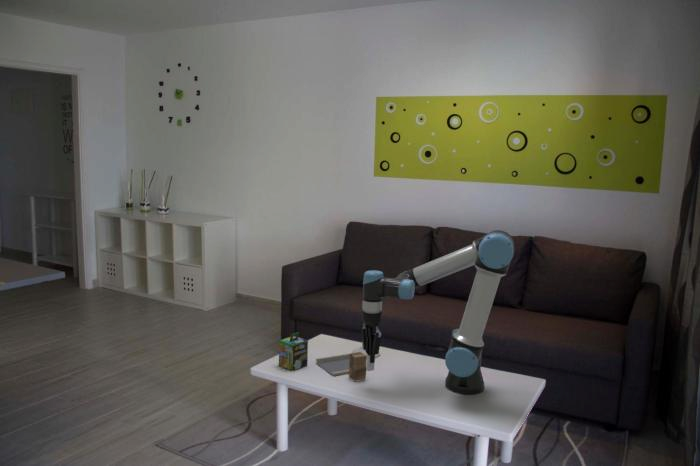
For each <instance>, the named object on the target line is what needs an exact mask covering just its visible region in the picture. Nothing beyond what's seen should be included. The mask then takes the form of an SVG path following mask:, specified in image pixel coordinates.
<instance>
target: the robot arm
mask: <svg viewBox="0 0 700 466" xmlns="http://www.w3.org/2000/svg"><path fill="white" fill-rule="evenodd" d="M514 255H515V241H514V239H513V237H512V236H511V235H510V234H509V233H508V232H506V231H505V230H501V229H500V230H499V229H497V230H496V229H495V230H492V231H490V232H489V233H486V234H485V235H484V236H481V237H479V238H477V239H475V240H473V241H472V243H471V244H469V245H467V246H464V247H462V248H460V249H458V250H455V251H453V252H450V253H448V254H445V255H443V256H440V257H438V258H435V259H433V260H431V261H428V262H426V263H423V264H421V265H419V266H416V267H414V268H412V269H409V270H407V271H406V270H405V271H402V272H400V273H399V274H398V275H397V276H396V277H385V276H384V272H383V271H381V270H377V269H375V270H373V269H372V270H367V271H365V272H364V274H363V279H362V280H363V282H362V307H361V308H362V314H361V315H362V317H361V320H362V322H363V324H360V329H361V337H362V342H363V349H364V350H366V353H367V358H366V370H367V371H366V372H370V371H374V370H375V363H376V362H375V361H376V360H375V359H376V358H375V355H376V354H378V353H380V348H381V347H380V346H381V342H382V337H383V336H384V332H383V331H381V330H380V322H382V318H383V317H382V316H383V312H382V311H383V298H390V299H398V300H412V299H414V295H415V289H417V288H419V287H422V286H425V285H427V284H430V283H432V282H435V281H437V280H439V279H442V278H445V277H447V276H449V275H452V274H455V273H457V272H460V271H462V270H465V269H467V268H470V267H472V266H475V268H476V273H475V276H474V279H473V283H472V287H471V289H470V293H469V296H468V298H467V299H468V300H467V302H466V305H465V310H464V313H463V315H462V319H461V322H460V325H459V328H455V329H453V330H452V334H451V340H450V343H449V347H448V350H447V352H446V353H445V358H444V361H445V362H444V363H445V366H446V369H448V373H447V376H446V378H445V381H444V382H445V383H444V384H445V388H446V389H448V390H449V391H451V392H455V393H458V394H461V395H477V394H480V393H482V392H484V389H485V381H484V377H483V374H482V371H481V369H482V352H483V349H484V346H485V343H484V341H483V334H484V331H485V329H486V326H487V322H488V319H489V315H490V313H491V310H492V307H493V304H494V300H495V298H496V294H497V290H498V288H499V284H500V281H501V278H502V277H505V276H507V274H508V270H509V268H510V264H511V262H512V259H513V258H514Z"/></svg>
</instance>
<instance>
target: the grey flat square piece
mask: <svg viewBox="0 0 700 466" xmlns="http://www.w3.org/2000/svg"><path fill="white" fill-rule="evenodd" d="M350 354H351V353H344V354H337V355H332V356H324V357H317V358H316V360H315V364H316V365H317V366H318V367H320V368H321V369H322V370H324V371H325V372H326V373H327V374H329V375H330V376H332V377H336V376H337V377H338V376H343V375H349V355H350ZM366 372H368V371H367V370H366Z"/></svg>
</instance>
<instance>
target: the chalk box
mask: <svg viewBox="0 0 700 466" xmlns="http://www.w3.org/2000/svg"><path fill="white" fill-rule="evenodd" d="M299 334H300V333H299V331H297V332H295V333H292V334H291V335H290V336H288V337H286V338H282V339H281V340H280V339H279V341H278V366H279V367H281V368H284V369H287V370H290V371H291V372H294V371H296V370H299V369H300V370H301V369H303V368H305V367H308V357H309V356H308V353H309V350H308V349H309V347H308V346H309V344H308V343H309V340H308V339H305V338H302V337H299Z"/></svg>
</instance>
